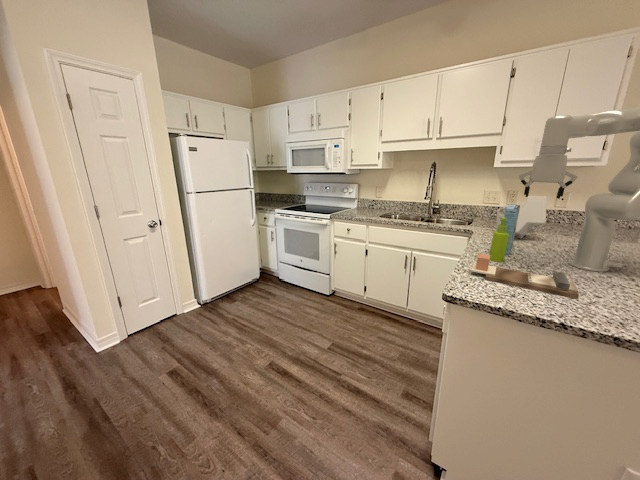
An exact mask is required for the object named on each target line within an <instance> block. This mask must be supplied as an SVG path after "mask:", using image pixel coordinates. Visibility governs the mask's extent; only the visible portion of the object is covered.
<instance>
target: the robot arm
mask: <svg viewBox="0 0 640 480" xmlns="http://www.w3.org/2000/svg"><path fill="white" fill-rule="evenodd" d="M633 132H634V133H633ZM624 133H633V134H632V136H631V137H630V140H629V151H630V152H629V153H630V157H629V160H628V162H627V163H626V164H625V165H624V166H623V167H622V169H621V170H620V171H619V172H618V173H617V174H616V175H615V176H614V177H613V178H612V180H611V181H610V182H609V183H608V185H607V190H608V191H609V192H610V193H608V192H606V193H605V192H602V193H595V194H594V195H591V196H590V197H588V199H587V200H586V202H585V206H584V220H583V224H582V228H581V233H580V236H579V240H578V244H577V246H576V251H575V253H574V254H575V255H574V258H573V259H568V264H569V266H571V267H574V268H578V269H581V270H585V271H590V272H598V273H599V272H600V273H601V272H609V269H610V268H611V267H612V268H618V269H622V268H623V263H621V262H619V263H618V262H616V261H611V260H609V259H608V255H609V252H610V249H611V246H612V242H613V239H614V236H615V234H616V224H615V221H614V220H620V221H625V222H626V221H627V222H633V221H638V220H639V219H640V106H638V107H631V108H625V109H624V108H622V109H614V110H608V111H604V112H597V113H595V114H594V113H593V114H582V115H567V114H566V115H555V116H550V117H548V119H546V121H545V125H544V130H543V133H542V134H543V135H542V140H541V144H540V149H539V154H538V155H536V156H535V158H534V161H533V162H532V166H531V170H530V171H527V172H524V173H522V174H520V175H518V177H519V180H520V182H521V184H522V185H524V192H523V196H524V195H525V198H527V197H528V196H530V195H529V193H530V190H531V189H530V188H531V187H530V186H531V185H532V184H533V183H545V184H546V183H550V184H553V183H554V184H558V185H559V188H558V189H557V194H556V199H557V200H560V199H561V197H563V196H564V192H565V189H566V188H568V186H570V185H572V184H573V183H574V182H575V181H576V180H577V179H578V175H576V174H573V173H571V172H569V171H567V165H568V155H566V154H567V153H571V152H572V149H573V148H571V147H568V145H569V144H568V143H569V139H576V138H584V137H600V136H608V135H609V136H611V135H616V134H624ZM527 176H529V180H528V181H526V180H525V177H527ZM565 176H566V177H567V178H570V179H569V180H568V181H566V182H565V183H564V180H565Z"/></svg>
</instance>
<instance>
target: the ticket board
mask: <svg viewBox="0 0 640 480" xmlns="http://www.w3.org/2000/svg"><path fill="white" fill-rule="evenodd" d="M495 267H496V272H495V276H492V275H487V274H485V281H490V282H493V283H494V282H495V283H499V284H503V285H507V286H508V285H509V286H514V287H518V288H522V289H526V290H528V289H529V290H531V291H537V292H541V293H547V294H551V295H552V294H553V295H555V296H557V295H558V296H561V297H566V298H571V299H576V300H578V299H579V296H580V294H579V289H578V288H577V285H576V284H575V282H574V280H571V279H569V278H568V277H567V275H566V273H565V272H559V271H553V274H552V276H549V275H548V276H547V275H542V274H537V273H531V272H528V271H527V272H525V271H520V270H515V269H510V268H509V269H508V268H504V267H498V266H495Z"/></svg>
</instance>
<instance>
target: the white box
mask: <svg viewBox="0 0 640 480" xmlns="http://www.w3.org/2000/svg"><path fill="white" fill-rule="evenodd" d="M547 200H548V197H547V196H546V195H545V196H543V195H541V196H540V195H539V196H538V195H537V196H536V195H528V197H526V200H525V201H524V202H523V204H522V205H520V209H519V215H518V220H517V225H516V231H515V236H514V237H519V240H523V239H526V238H527V237H529V235H531V234H533V233H535V232H536V231H535V230H534V229H533V227H537V226H541V225H545V224H546V223H547V204H548V203H547ZM508 206H509V205H504V206H503V207H500V208H499V209H497V211H496V222H495V223H496V225H495V230H496V231H497V230H498V225H500V224H501V221H502V219H500V218H499V217H504V215H505V209H506V208H507V207H508Z"/></svg>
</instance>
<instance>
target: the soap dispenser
mask: <svg viewBox="0 0 640 480" xmlns="http://www.w3.org/2000/svg"><path fill="white" fill-rule="evenodd" d="M499 218H500V219H502V221H501V224H500V225H498V230H496V231H494V232H493V234H492V239H491V246H490V251H489V255H491V256H490V262H495V263H504V262H505V258H506V255H505V253H506V248H507V243H508V238H509V233H506V231H507V225H505V224H506V220H508V219H507V218H505V217H499Z"/></svg>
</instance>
